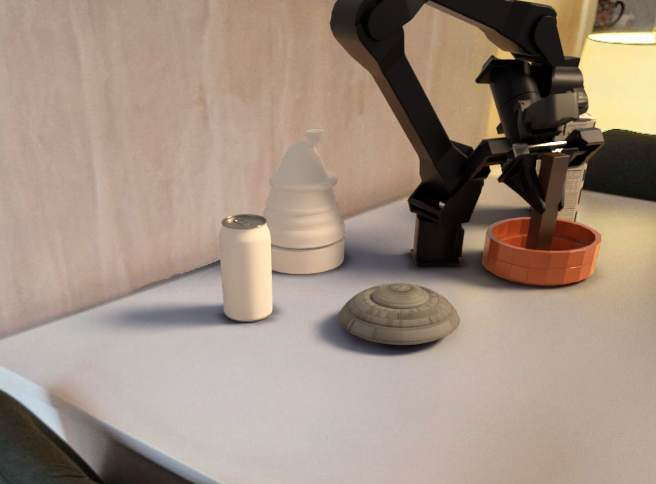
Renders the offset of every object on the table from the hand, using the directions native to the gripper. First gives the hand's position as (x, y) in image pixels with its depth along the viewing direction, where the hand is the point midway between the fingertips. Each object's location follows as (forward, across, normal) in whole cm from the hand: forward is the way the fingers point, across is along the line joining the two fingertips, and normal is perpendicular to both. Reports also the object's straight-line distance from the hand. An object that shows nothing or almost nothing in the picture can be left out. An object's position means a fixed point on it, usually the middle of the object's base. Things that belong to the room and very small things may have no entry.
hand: (551, 211), depth 103 cm
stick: (+4, 0, +6) cm, 7 cm away
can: (+4, -42, +10) cm, 44 cm away
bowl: (+4, +2, +8) cm, 10 cm away
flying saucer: (+12, -26, +1) cm, 29 cm away
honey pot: (-8, -28, +21) cm, 36 cm away
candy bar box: (-9, +18, +22) cm, 29 cm away
